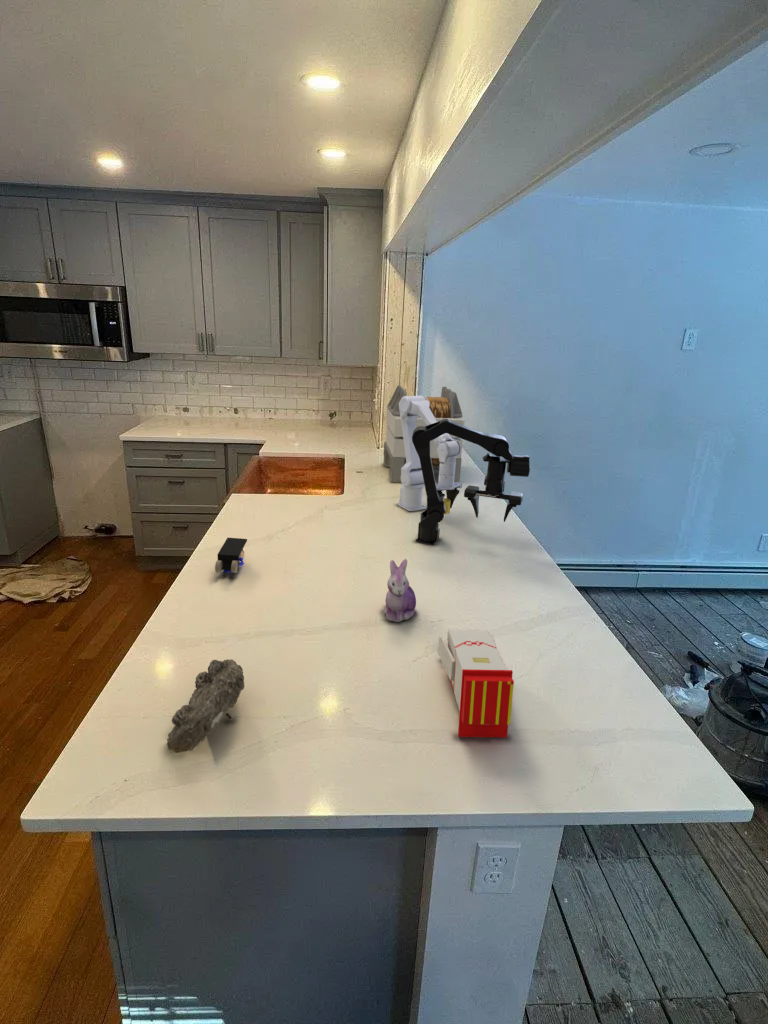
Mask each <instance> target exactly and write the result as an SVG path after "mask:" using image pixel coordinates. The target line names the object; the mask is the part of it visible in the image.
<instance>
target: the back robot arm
mask: <svg viewBox="0 0 768 1024" xmlns="http://www.w3.org/2000/svg"><path fill="white" fill-rule="evenodd" d="M427 397H428V396H426V395H425V394H421V395H407V396H404V397H402V398H401V400H400V402H399V410H400V418H401V422H402V431H403V439H404V447H405V456H406V464H405V465H404V466H403V467H402V468H401V482H400V483H401V487H399V500H398V502H397V504H396V505H397V506H399V507H401V508H403V509H404V510H406V511H408V512H416V511H421V510H426V509H427V506H424V505H423V491H424V488H425V484H424V479H423V474H422V469H421V464H420V459H419V456H418V454H417V452H416V449H415V447H414V444H413V442H412V435H413V431H414V430H415V428H416V424H415V421H416V419H417V418H418V417H419V416H420V417H421V418H422V419H423V421H424V422H425V423H426V424H427V426H428V425H430V424H433V423H436V422H437V421H436V419H435V417H434V416H433V414H432V412H431V410H430V408H429V405H430V403H429V401H428V399H427ZM434 442H435V443H436V445H437V446H438V448H437V451H438V454H439V461H440V467H439V470H438V480H437V481H438V482H437V483H436V488H437V492H438V495H439V497H442V496H444V497H445V496H446V498H447V499H450V500H451V503H450V509H452V508H453V506H454V502H455V500H456V498H457V496H459V494H460V490H459V489H462V488H463V485H464V484H463V482H461V481H460V482H454V477H455V466H456V456H457V455H459V453H460V444H459V442H458V441H457V440H454V439H453V438H451V437H450V435H449V434H448V433H445V434H443V435H441V436H439V437H437V438H436V439H434ZM443 491H445V493H446V494H445V493H443Z"/></svg>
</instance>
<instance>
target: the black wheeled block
mask: <svg viewBox="0 0 768 1024" xmlns="http://www.w3.org/2000/svg"><path fill="white" fill-rule="evenodd" d="M247 542H248V538H240V537H226V539H225V541H224V543H223V544H222V546H221V547H220V549H219V551H218V552H217V560H216V562H215V564H214V572H215V573H221V577H222V578H224V577H225V576H226V574H227V573H230V574H231V573H232V574H231V578H234V577H235V575H236V573H237V572H239V571H240V567H242V566H243V565H244V564H245V562H244V558H245V551H244V547H245V546H246V544H247Z"/></svg>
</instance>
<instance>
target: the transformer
mask: <svg viewBox="0 0 768 1024" xmlns="http://www.w3.org/2000/svg"><path fill="white" fill-rule="evenodd" d="M440 393H441V394H440V396H426V397H427V399H428V401H429V403H430V405H429V408H430V410H431V412H432V414H433V416H434V417H435V419H436V421H437V422H439V421H441V420H442V419H449V420H450V421H452V422H455V423H457V424H460V425H463V426H465V419H464V418H463V411H462V408H461V405H460V402H459V398H458V395H457V392H455V391H453V390H452V389H451V388H447V386H442V387H441V392H440ZM407 394H408V393H407V390H406V389H404V388H403V387H402V385H399V384H398V385H397V386H396V388H395V390H394V392H393V394H392V395H391V398H390V400H389V402H388V404H387V405H386V413H385V414H386V415H385V423H386V428H385V438H384V442H383V466H384V467H388V468H389V475H388V476H389V477H388V478H389V480H390V482H391V483H402V482H401V468H402V467H403V466H404V465H405V464H406V456H405V447H404V439H403V431H402V422H401V418H400V410H399V402H400V400H401V398H402V397H404V396H408V395H407ZM415 424H416V428H417V427H419V426H424V427H425V426H427V424H426V423H425V422H424V421H423V419H422V418H421V417H420V416H419V417H418V418H417V419H416V421H415ZM449 435H450V434H449ZM450 437H451V438H453V439H454V440H457V441H458V442H459V444H460V453H459V455H457V456H456V466H455V477H454V482H461V472H462V461H463V460H462V453H463V442H464V441H463V439H461V438H458V437H456V436H453V435H450ZM437 448H438V446H437V445H436V443H435V442H434V440H432V441H430V456H431V461H432V466H433V467H436V468H437V470H438V469H439V467H440V461H439V454H438V451H437Z"/></svg>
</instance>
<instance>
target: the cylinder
mask: <svg viewBox="0 0 768 1024" xmlns="http://www.w3.org/2000/svg"><path fill="white" fill-rule="evenodd" d="M450 503H451V500H450V499H447V497H444V505H445V506H446V513H444V515H448V514H450V512H451V508H450Z"/></svg>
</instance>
